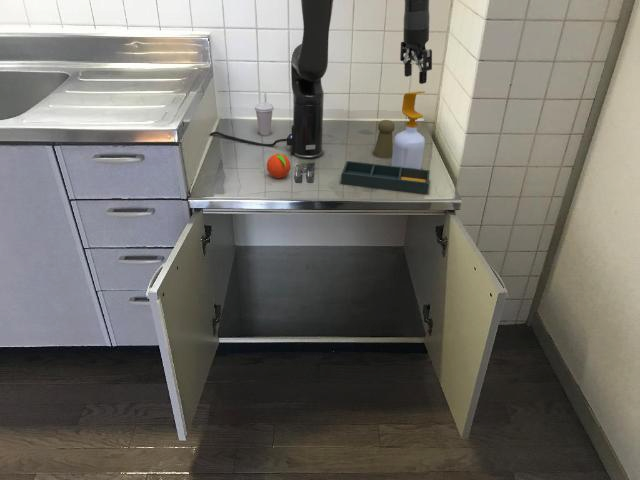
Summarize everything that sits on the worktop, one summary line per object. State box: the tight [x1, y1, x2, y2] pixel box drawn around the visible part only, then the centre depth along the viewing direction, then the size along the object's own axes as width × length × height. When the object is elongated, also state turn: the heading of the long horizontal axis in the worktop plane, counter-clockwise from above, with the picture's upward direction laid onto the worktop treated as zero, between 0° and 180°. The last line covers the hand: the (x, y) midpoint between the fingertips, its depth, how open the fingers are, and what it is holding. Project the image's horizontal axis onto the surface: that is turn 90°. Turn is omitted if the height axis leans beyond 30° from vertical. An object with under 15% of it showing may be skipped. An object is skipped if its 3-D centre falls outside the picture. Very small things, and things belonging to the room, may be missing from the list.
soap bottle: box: [390, 90, 426, 169], centre depth 147 cm, size 9×9×25 cm
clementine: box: [266, 153, 292, 179], centre depth 145 cm, size 8×7×7 cm
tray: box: [340, 160, 430, 195], centre depth 146 cm, size 25×9×3 cm, turn 78°
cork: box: [373, 119, 396, 158], centre depth 160 cm, size 6×6×11 cm
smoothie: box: [254, 92, 275, 136], centre depth 171 cm, size 6×6×14 cm
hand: (415, 79), depth 158 cm, fingers open, 8 cm apart
